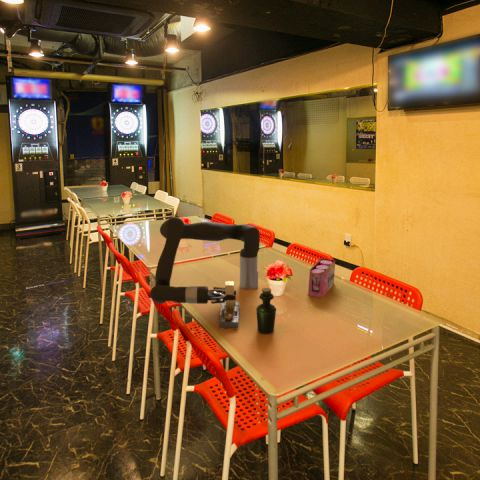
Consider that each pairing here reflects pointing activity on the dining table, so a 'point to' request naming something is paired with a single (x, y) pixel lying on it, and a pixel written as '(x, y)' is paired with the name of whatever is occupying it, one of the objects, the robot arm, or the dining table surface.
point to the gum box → (321, 277)
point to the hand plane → (229, 317)
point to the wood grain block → (229, 291)
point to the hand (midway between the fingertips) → (235, 295)
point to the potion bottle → (266, 312)
